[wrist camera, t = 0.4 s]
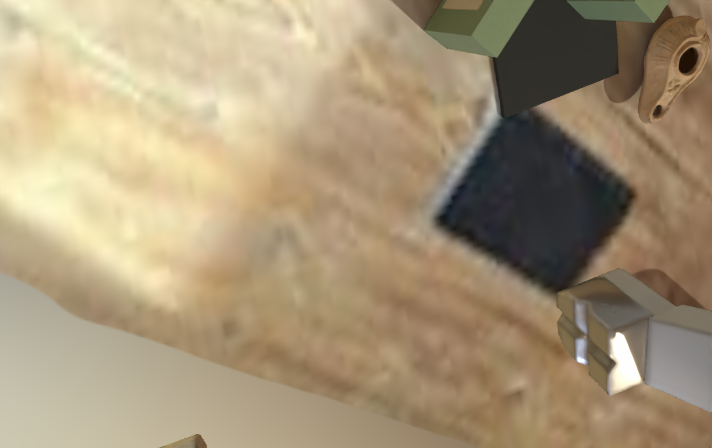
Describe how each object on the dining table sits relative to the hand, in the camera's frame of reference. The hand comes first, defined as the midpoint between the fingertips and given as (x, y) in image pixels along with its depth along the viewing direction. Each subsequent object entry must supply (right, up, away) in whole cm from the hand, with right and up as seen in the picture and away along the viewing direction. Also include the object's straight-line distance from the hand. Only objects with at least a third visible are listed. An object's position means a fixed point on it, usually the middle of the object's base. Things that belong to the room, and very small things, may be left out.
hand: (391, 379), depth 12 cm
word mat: (+21, +28, +49) cm, 60 cm away
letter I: (+9, +25, +46) cm, 54 cm away
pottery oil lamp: (+36, +23, +57) cm, 71 cm away
